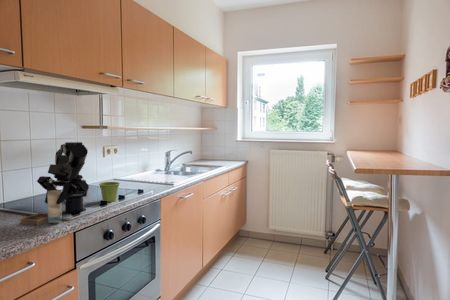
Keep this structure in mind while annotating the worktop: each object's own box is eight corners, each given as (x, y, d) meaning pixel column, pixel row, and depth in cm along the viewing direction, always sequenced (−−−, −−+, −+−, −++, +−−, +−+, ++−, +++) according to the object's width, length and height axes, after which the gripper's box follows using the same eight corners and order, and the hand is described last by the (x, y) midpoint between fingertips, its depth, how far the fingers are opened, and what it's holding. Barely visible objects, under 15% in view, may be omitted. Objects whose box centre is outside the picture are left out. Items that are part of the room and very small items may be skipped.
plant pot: (110, 197, 149) (110, 181, 148) (124, 200, 145) (123, 182, 144) (94, 201, 141) (94, 183, 140) (108, 204, 136) (108, 185, 136)
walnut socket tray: (38, 217, 115) (38, 212, 115) (56, 219, 113) (55, 214, 113) (20, 223, 107) (20, 218, 107) (38, 225, 105) (38, 220, 105)
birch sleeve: (54, 218, 111) (54, 189, 110) (64, 219, 110) (64, 190, 109) (44, 221, 107) (44, 192, 106) (55, 222, 106) (54, 192, 105)
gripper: (40, 155, 112) (15, 189, 102) (83, 157, 109) (62, 192, 99) (56, 172, 121) (34, 206, 111) (96, 174, 117) (78, 209, 107)
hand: (51, 203), depth 107 cm, fingers closed on birch sleeve, 4 cm apart
